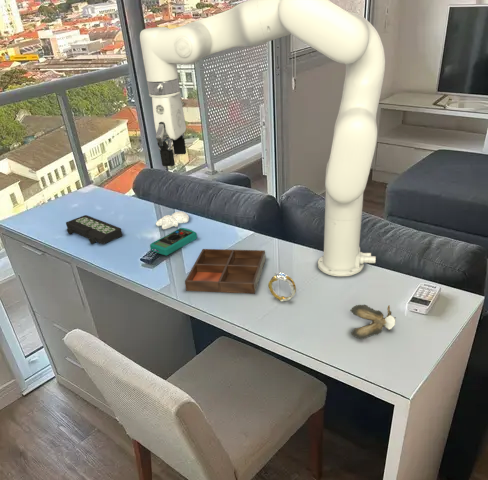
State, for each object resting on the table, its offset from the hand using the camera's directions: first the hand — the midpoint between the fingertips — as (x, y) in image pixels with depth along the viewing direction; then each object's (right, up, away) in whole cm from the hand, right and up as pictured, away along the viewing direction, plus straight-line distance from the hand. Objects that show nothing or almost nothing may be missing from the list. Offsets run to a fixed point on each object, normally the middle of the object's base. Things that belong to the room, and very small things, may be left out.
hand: (174, 159), depth 127 cm
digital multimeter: (-4, -18, +28) cm, 33 cm away
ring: (+28, -37, -2) cm, 46 cm away
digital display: (-34, -12, +40) cm, 53 cm away
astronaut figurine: (-7, -8, +43) cm, 44 cm away
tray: (+13, -29, +10) cm, 33 cm away
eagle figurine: (+47, -45, -15) cm, 67 cm away
